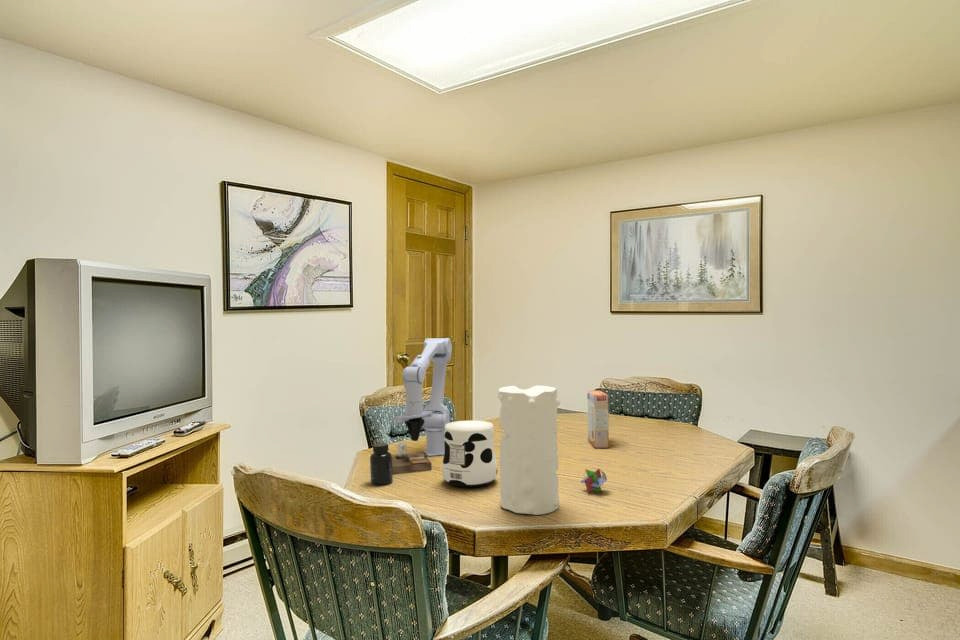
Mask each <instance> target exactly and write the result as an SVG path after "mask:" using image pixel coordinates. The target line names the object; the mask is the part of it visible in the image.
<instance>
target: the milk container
mask: <svg viewBox="0 0 960 640" xmlns="http://www.w3.org/2000/svg"><path fill="white" fill-rule="evenodd" d="M444 435H445V438H444V445H445V453H444V455H443V459H442V462H441V472H442V477H443V479H444V481H445V482H446V483H448V484H450V485H452V486H456V487H463V488H474V487H481V486H485V485H489V484H491V483H493V482H494V480H495V479H496V477H497V474H498V461H497V458H496V454H495V437H494V436H495V428H494V424H493V423H492V422H489V421H484V420H457V421H452V422H451V421H450V423H448V424H446V425H445V431H444Z"/></svg>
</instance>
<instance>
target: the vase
mask: <svg viewBox="0 0 960 640" xmlns="http://www.w3.org/2000/svg"><path fill="white" fill-rule="evenodd" d="M497 399H499V401H500V402H501V407H500V410H499V417H498V421H499V422H498V428H499V429H501V430H503V434H502V435H500V438H499V467H500V468H499V469H500V470H499V471H500V473H499V476H500V477H499V481H500V484H499V485H500V491H499V494H500V495H499V496H500V502H499V505H500V507H501V508H502V509H505V510H509V511H511V512H514V513H515V514H522V515H523V514H526V515H534V516H541V515H546V514H550V513H552V512H555V511H556V510H557V509H558V508H559V506H560V504H561V503H560V494H559V476H558V474H557V470H559V455H558V451H559V447H558V445H559V444H558V429H559V428H558V420H557V416H558V407H559V406H560V405H561V400H560V399H559V398H558V389H557V388H556V387H554V386H548V385H539V384H538V385H534V386H531V387H530V388H527V389H526V388H525V389H522V388H519V387H518V386H516V385H508V386H503V387H500V388H499V389H498V392H497Z"/></svg>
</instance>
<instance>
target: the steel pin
mask: <svg viewBox="0 0 960 640" xmlns="http://www.w3.org/2000/svg"><path fill="white" fill-rule="evenodd" d="M406 453H407V444H406V443H398V444H397V454H398V459H405V457H406Z"/></svg>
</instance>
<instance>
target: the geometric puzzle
mask: <svg viewBox="0 0 960 640" xmlns="http://www.w3.org/2000/svg"><path fill="white" fill-rule="evenodd" d="M584 471H585V473H583V476H585V474H586V475H587V476H585V477H584V478H583V479H581V481H580V483H581V484H583V486H585V487H586V488H585V489H586V492H587V494H591V493H592V492H593V491H595V492H598V493H603V491H604V490H603V489H602V487H604V486H603V485H604V483H606V482H607V481H608V479H607V475H606V473H605V472H604V471H603V470H601V469H600V468H597V469H596V470H595V471H593V470H590V469H586V468H585V470H584ZM601 485H602V486H601Z"/></svg>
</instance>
